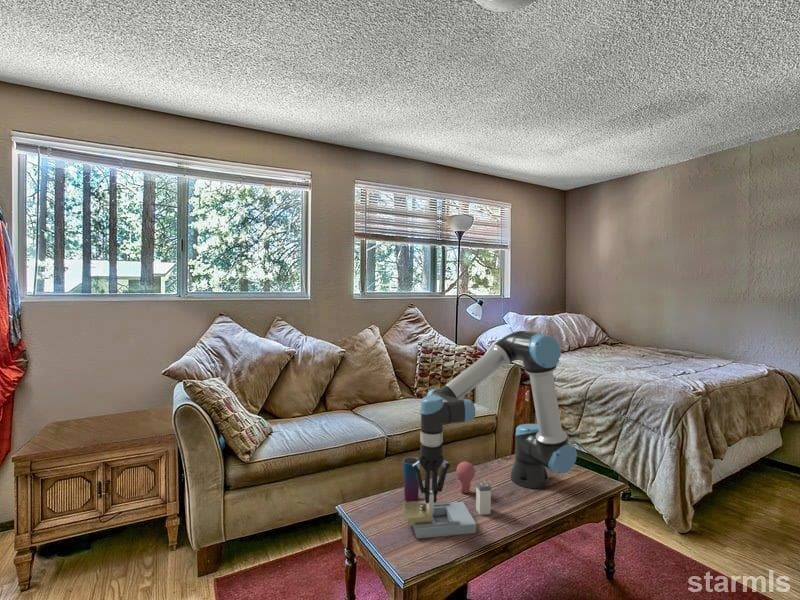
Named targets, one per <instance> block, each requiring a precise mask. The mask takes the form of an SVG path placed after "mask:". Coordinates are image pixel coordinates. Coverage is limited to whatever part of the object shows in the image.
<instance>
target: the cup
mask: <svg viewBox="0 0 800 600" xmlns="http://www.w3.org/2000/svg"><path fill="white" fill-rule="evenodd" d="M418 461H419V457H416V456H408V457H407V456H406V457H405V458H403V459H402V472H403V489H404V490H403V491H404V500H405V501H404V502H412V501H419V491H420V488H419V484H418V480H417V476H416V471H415V470H414V468H413V466H412V464H413V463H416V462H418ZM420 466H421V464H420ZM419 471H420V472H421V468H420V469H419Z"/></svg>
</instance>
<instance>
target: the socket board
mask: <svg viewBox="0 0 800 600" xmlns="http://www.w3.org/2000/svg"><path fill="white" fill-rule="evenodd" d="M431 515H432V523H429V524H418V525H412V529H413V531H414V534H415V535H414V536H415V537H416V539H425V538H437V537H445V536H459V535H469V534H476V533H477V523H476V520H475V519H474V517H473V516H472V514H471V513H470V511H469V509H468V508H467V506H466V505H465V503H464V501H456V502H455V501H454V502H449V501H447V502H435V503H434V513H433V514H431Z"/></svg>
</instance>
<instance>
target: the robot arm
mask: <svg viewBox="0 0 800 600" xmlns="http://www.w3.org/2000/svg"><path fill="white" fill-rule="evenodd" d="M561 355H562V351H561V346H560V344H559V342H558V341H557V339H556V338H554V337H553V336H551V335H547V334H545V333H539V332H538V333H537V332H532V331H526V330H517V331H514V332H512V333H509V334H507V335H506V336H504V337H502V338H501V339H499V340H498V341H496V342H495V343H494V344H492V346H491V349H490V350H489V351H488V352H486V353H485V354H484V355H482V356H481V357H480V358H478V359H477V360H476V361H475V362H474V363H472V364H471V365H469V366H468V367H467V368H465V370H463V371H462V372H460V373H459V374H458V375H457V376H455V377H454V378H453V379H451V380H450V381H448V382H447V383H445V384H444V385H443V386H442V387H441V388H439V389H438V388H434V389H433V388H432V389H431V390H429V391H428V392H427V394H426V396H424V397H423V398H421V403H420V409H419V411H420V440H419V441H420V444H419V445H420V446H419V447H420V449H419V457H418V458H419V461H418V462H416V463H413V464H412V466H413V468H414V470H415V471H416V476H417V480H418V484H419V491H420V493H422V494H424V500H425V502H426V504H427V506H428V508H429V511H430V513H431V514H433V513H434V503H437V501H438V500H437V496H438V493H439V492H442V491H443V490H444V489H443V488H444V484H445V481H446V476H447V472H448V470H449V468H450V467H451V464H450V463H449V461H448V460H445V459H444V457H443V442H444V440H443V438H444V437H443V432H444V425H451V424H460V423H466V422H470V421H473V420H474V419H475V417H476V407H475V404H474V403H473V401H472V400H471V399H467V398H465V399H464V397H465V396H466V395H468V393H470V392H471V391H472V390H473V389H474V388H476V387H477V386H479V385H480V384H482V383H483V382H484V381H485V380H486V379H488V378H489V377H490V376H492V375H493V374H494V373H496V372H497V371H498V370H499V369H501V367H503V366H508V365H510V364H511V363H513V362H516V361H521V362H522V363H523V365H522V366H523V370H524V372H525V373H527V374H528V375H529V381H530V388H531V392H532V399H533V404H534V410H535V416H536V423H524V424H519V425H518V426H517V427H515V428H516V429H515V434H514V435H515V454H514V455H515V458H514V459H515V460H514V462H513V464H512V466H511V470H510V480H511V481H512V482H513V483H514V484H516V485H518V486H521V487H525V488H527V489H528V488H529V489H543V488H545V487H547V486H548V485H549V474H548V471H547V469H548V470H550V471H551V472H554V473H556V474H562V475H563V474H566V473H567V472H569V471H571V469H572V468H573V467H574V465H575V463H576V461H577V457H578V456H577V455H578V453H577V449H576V448H575V447H574V446H573V444H570V442H569V438H568V434H567V432H566V431H564V430H563V428H562V427H563V426H562V422H561V415H560V409H559V403H558V398H557V397H558V395H557V389H556V384H555V377H554V371H555V370H556V369H557V365H558V364H559V362H560V358H561V357H562V356H561ZM462 398H463V399H462ZM420 464H421V465H420ZM421 467H422V469H424V483H423V479H422V474H421ZM440 467H441V469H440ZM419 469H420V471H419ZM439 469H440V473H438V472H439ZM438 474H439V477H438ZM430 479H431V480H430ZM430 481H431V483H430Z"/></svg>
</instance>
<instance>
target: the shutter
mask: <svg viewBox="0 0 800 600" xmlns="http://www.w3.org/2000/svg"><path fill="white" fill-rule="evenodd" d="M427 504H428V503H426V502H425V499H424V500H418V501H412V502H407V501H402V512H403V515H404V519H405V521H406V524H407V526H408V527H410V526H412V525H418V524H429V523H432V515H431V513H430V511H429V508H428V506H427ZM412 527H413V526H412Z"/></svg>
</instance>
